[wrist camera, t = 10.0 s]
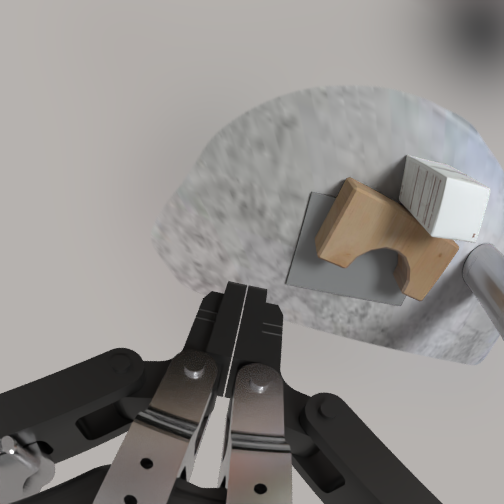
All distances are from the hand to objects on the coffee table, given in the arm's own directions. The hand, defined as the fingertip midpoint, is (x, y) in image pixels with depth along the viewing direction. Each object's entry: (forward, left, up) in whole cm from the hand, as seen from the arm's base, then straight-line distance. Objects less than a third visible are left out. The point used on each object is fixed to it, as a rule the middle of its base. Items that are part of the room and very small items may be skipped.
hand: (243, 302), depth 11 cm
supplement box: (-22, -2, -31) cm, 38 cm away
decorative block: (-9, +6, -28) cm, 30 cm away
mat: (-17, +12, -31) cm, 37 cm away
